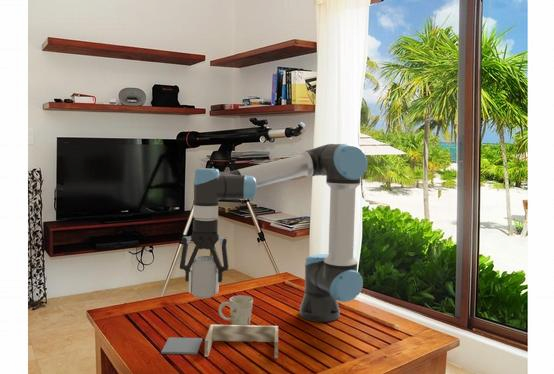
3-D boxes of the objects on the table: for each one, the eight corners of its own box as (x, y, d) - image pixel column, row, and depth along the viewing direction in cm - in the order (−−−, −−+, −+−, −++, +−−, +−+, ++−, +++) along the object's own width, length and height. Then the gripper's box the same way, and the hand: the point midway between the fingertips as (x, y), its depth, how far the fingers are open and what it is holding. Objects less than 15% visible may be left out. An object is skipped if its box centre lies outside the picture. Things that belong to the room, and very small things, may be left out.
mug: (249, 332, 164) (249, 303, 163) (214, 328, 166) (214, 300, 166) (255, 323, 172) (255, 296, 171) (221, 320, 174) (221, 293, 174)
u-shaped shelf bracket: (277, 340, 157) (278, 325, 157) (277, 358, 144) (278, 342, 144) (210, 339, 157) (210, 324, 157) (204, 356, 144) (204, 340, 144)
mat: (202, 339, 157) (202, 338, 157) (197, 354, 146) (197, 352, 146) (168, 339, 157) (168, 337, 157) (160, 353, 146) (160, 351, 146)
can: (205, 300, 144) (206, 261, 143) (186, 296, 148) (187, 257, 147) (220, 294, 150) (221, 257, 149) (202, 290, 154) (203, 253, 153)
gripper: (239, 218, 151) (237, 289, 153) (174, 215, 151) (173, 287, 152) (238, 221, 144) (235, 296, 145) (169, 219, 143) (168, 294, 145)
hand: (203, 291), depth 149 cm, fingers closed on can, 7 cm apart
